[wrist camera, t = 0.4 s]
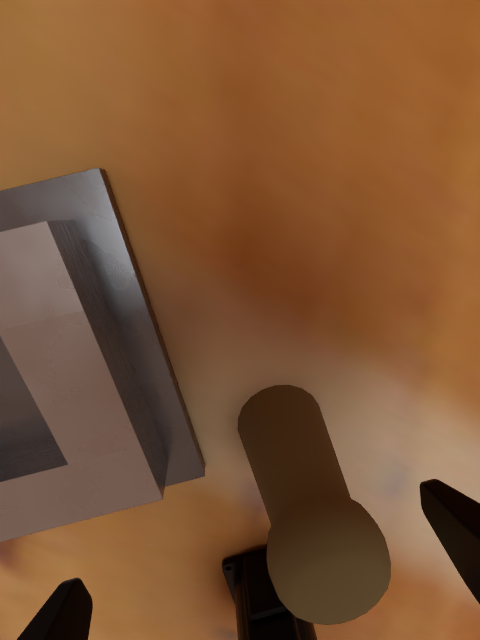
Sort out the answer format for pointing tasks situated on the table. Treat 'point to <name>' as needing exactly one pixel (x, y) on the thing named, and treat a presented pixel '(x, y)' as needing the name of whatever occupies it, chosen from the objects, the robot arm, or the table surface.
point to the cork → (311, 512)
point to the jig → (80, 364)
